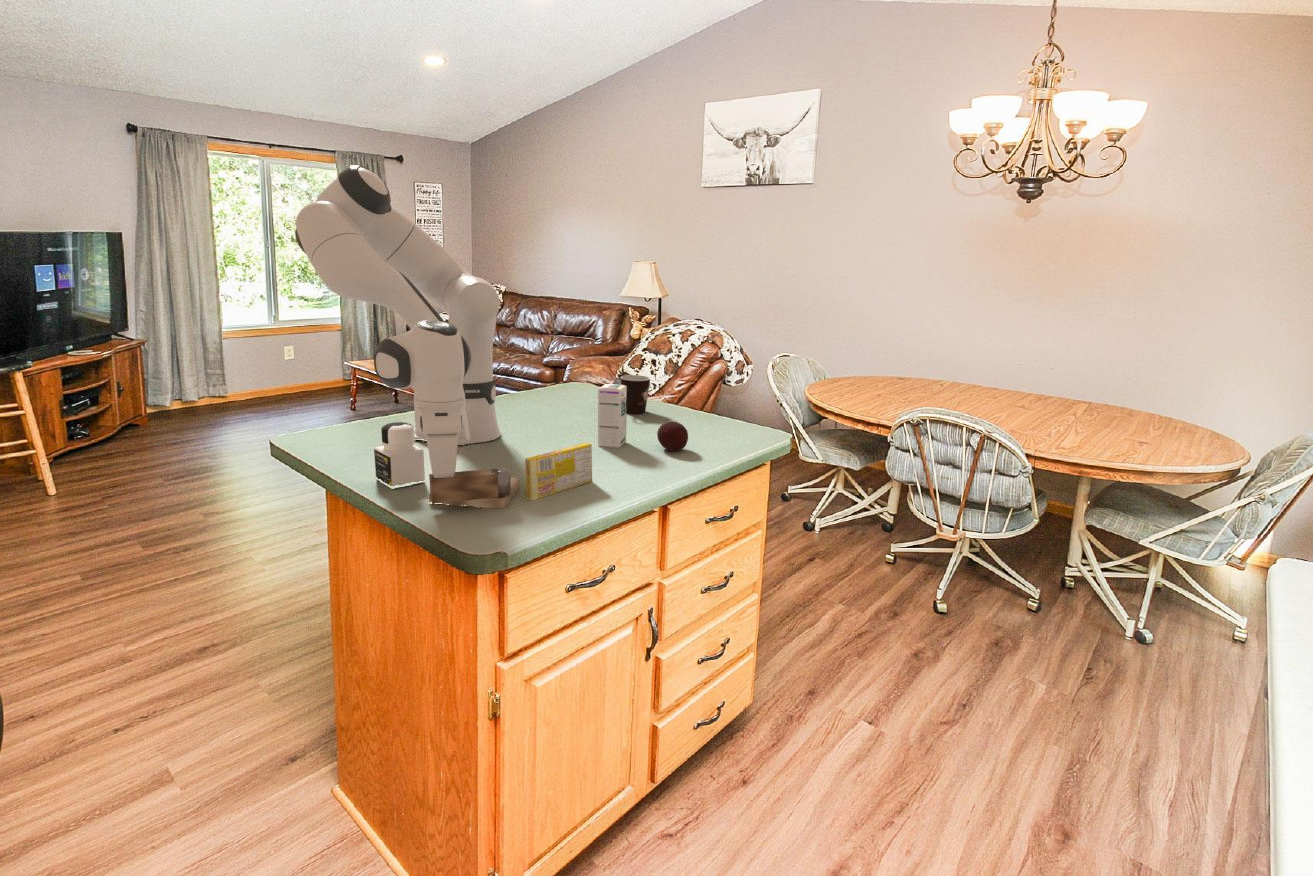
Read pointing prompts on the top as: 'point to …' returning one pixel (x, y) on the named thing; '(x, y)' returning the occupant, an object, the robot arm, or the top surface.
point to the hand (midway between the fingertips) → (442, 485)
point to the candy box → (558, 470)
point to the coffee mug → (636, 393)
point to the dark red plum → (672, 436)
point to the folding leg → (471, 485)
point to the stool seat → (490, 502)
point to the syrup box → (612, 415)
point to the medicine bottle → (399, 455)
